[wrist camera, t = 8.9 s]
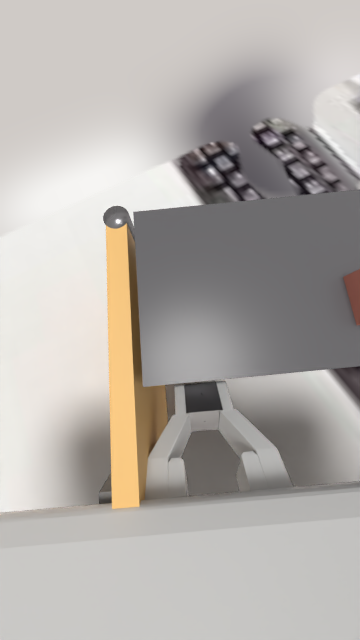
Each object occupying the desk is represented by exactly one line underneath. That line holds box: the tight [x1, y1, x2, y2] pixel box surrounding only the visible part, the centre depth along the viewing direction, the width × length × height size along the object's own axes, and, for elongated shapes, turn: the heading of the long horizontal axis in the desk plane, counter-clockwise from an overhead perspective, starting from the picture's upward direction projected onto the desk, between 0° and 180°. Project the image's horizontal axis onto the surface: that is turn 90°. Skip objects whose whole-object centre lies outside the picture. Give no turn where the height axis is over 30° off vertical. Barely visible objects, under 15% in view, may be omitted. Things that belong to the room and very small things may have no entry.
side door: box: [99, 206, 168, 509], centre depth 11 cm, size 11×2×9 cm, turn 5°
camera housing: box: [133, 190, 360, 387], centre depth 11 cm, size 7×10×11 cm
